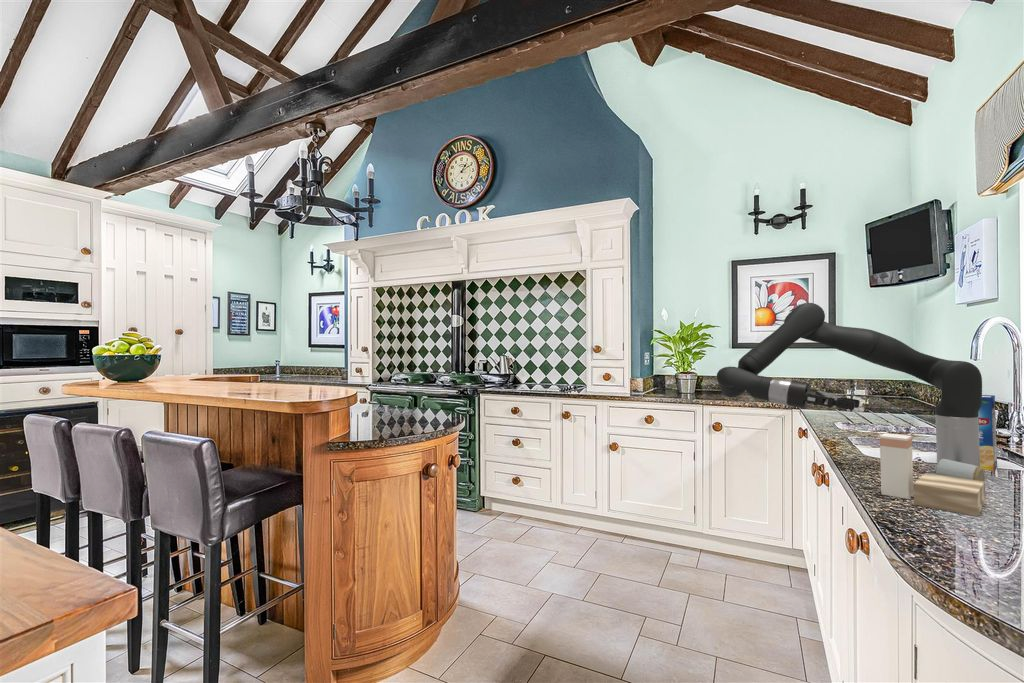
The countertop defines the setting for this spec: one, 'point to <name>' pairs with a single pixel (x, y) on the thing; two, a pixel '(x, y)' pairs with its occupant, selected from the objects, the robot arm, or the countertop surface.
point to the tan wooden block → (950, 493)
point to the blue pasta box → (987, 433)
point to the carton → (896, 465)
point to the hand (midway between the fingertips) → (856, 405)
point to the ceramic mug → (959, 470)
